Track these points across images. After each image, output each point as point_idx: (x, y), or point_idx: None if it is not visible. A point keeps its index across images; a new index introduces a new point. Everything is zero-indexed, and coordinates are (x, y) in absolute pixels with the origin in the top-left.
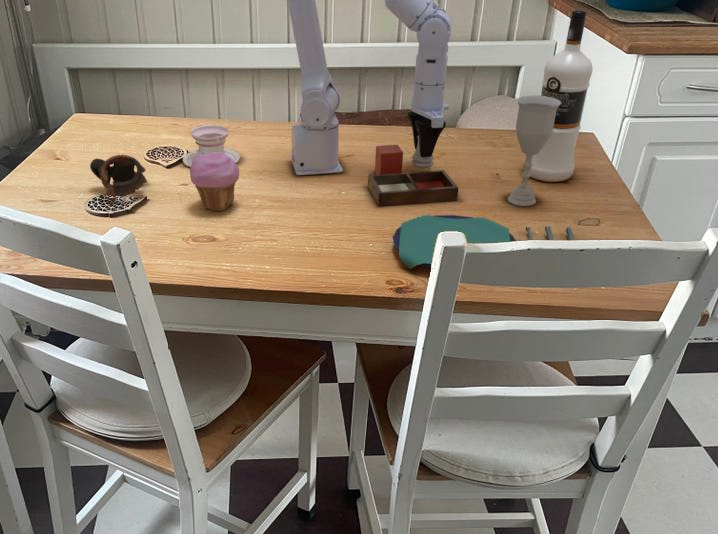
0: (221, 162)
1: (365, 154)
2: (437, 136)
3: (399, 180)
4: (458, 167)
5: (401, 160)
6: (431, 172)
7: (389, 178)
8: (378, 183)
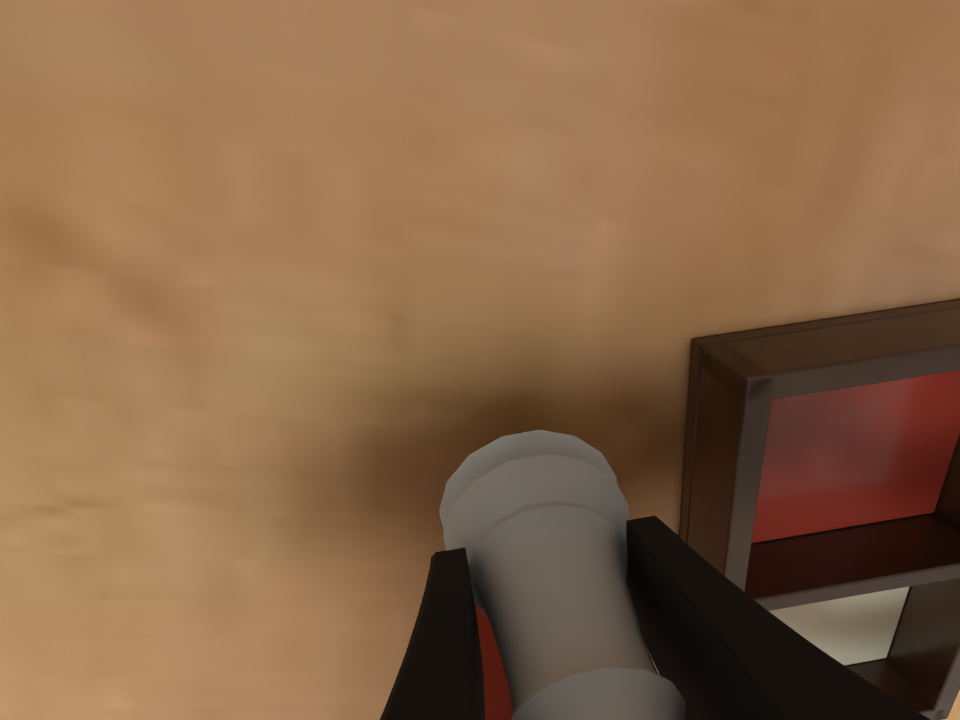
0: None
1: (175, 717)
2: (887, 710)
3: None
4: (393, 148)
5: None
6: (759, 468)
7: None
8: None
